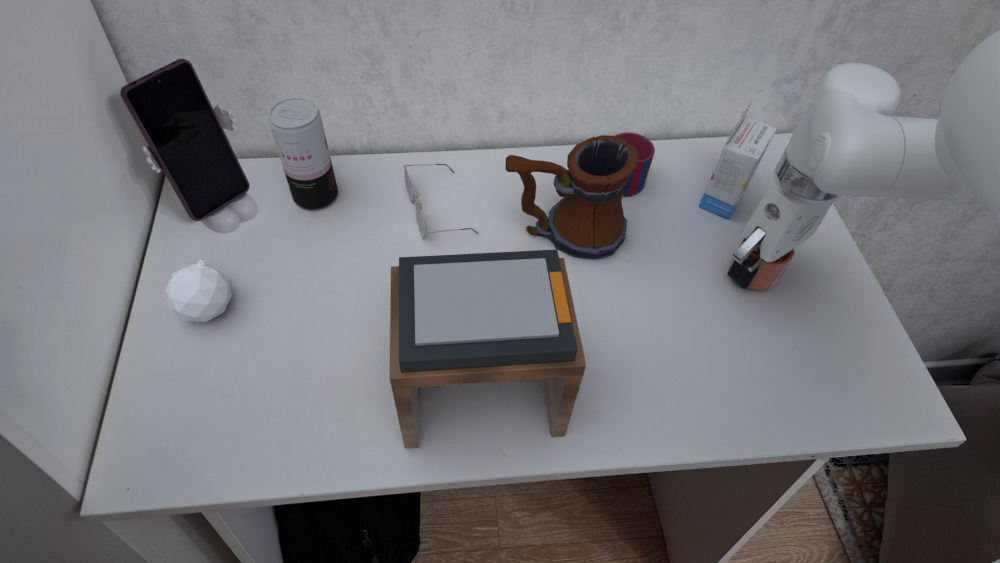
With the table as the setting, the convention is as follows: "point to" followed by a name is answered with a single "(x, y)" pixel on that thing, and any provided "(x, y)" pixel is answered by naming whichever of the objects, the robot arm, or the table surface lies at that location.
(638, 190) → the cup
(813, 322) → the table surface
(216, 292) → the ornament
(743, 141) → the ink box
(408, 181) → the eyeglasses
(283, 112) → the beverage can
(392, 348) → the stand
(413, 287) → the scale
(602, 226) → the mug
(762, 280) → the flower pot
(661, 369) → the table surface
